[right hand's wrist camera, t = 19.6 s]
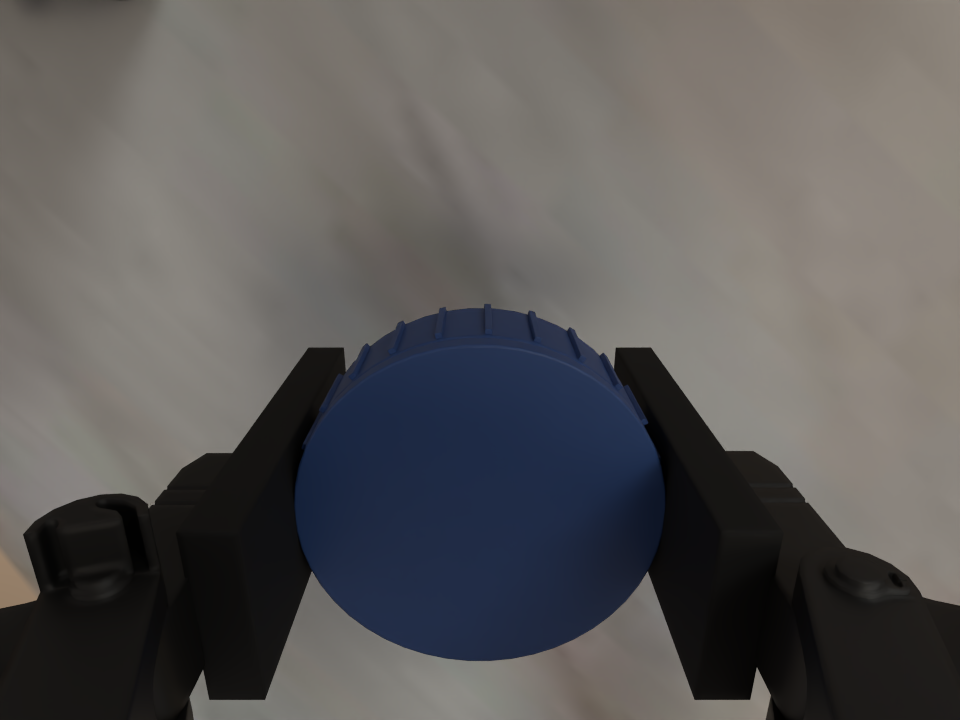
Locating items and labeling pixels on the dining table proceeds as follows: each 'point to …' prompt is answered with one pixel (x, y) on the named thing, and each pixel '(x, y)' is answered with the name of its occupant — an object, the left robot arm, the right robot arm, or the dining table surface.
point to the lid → (479, 487)
